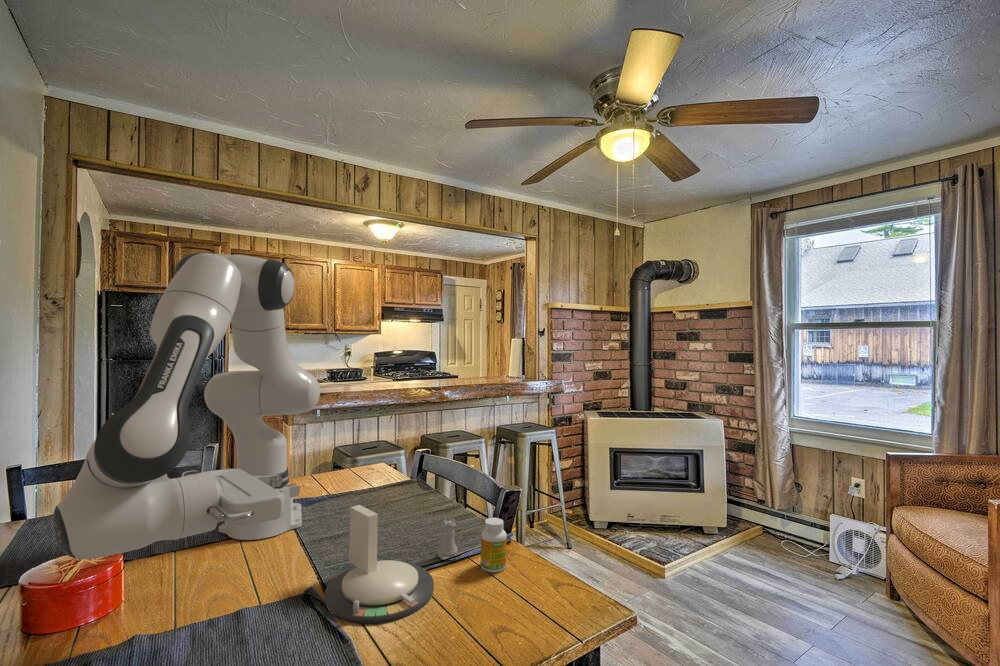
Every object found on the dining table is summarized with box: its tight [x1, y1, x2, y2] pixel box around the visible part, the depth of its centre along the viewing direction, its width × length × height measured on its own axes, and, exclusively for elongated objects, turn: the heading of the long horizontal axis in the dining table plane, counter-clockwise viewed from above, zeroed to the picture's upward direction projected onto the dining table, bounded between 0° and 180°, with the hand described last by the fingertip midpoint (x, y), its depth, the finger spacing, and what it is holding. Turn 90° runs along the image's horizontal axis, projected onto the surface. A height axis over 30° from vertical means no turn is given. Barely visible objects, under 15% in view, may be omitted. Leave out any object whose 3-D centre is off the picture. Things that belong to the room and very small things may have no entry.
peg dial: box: [342, 504, 418, 605], centre depth 89 cm, size 20×14×12 cm
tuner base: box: [323, 561, 435, 625], centre depth 89 cm, size 20×20×3 cm
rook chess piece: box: [437, 518, 459, 557], centre depth 104 cm, size 4×4×8 cm
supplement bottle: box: [480, 517, 508, 573], centre depth 100 cm, size 5×5×10 cm
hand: (289, 484), depth 83 cm, fingers open, 6 cm apart
